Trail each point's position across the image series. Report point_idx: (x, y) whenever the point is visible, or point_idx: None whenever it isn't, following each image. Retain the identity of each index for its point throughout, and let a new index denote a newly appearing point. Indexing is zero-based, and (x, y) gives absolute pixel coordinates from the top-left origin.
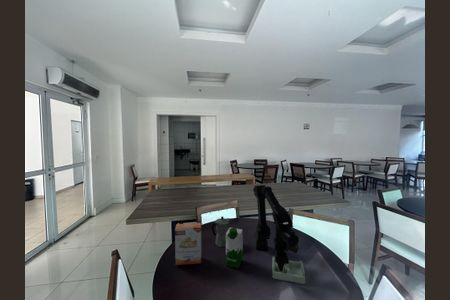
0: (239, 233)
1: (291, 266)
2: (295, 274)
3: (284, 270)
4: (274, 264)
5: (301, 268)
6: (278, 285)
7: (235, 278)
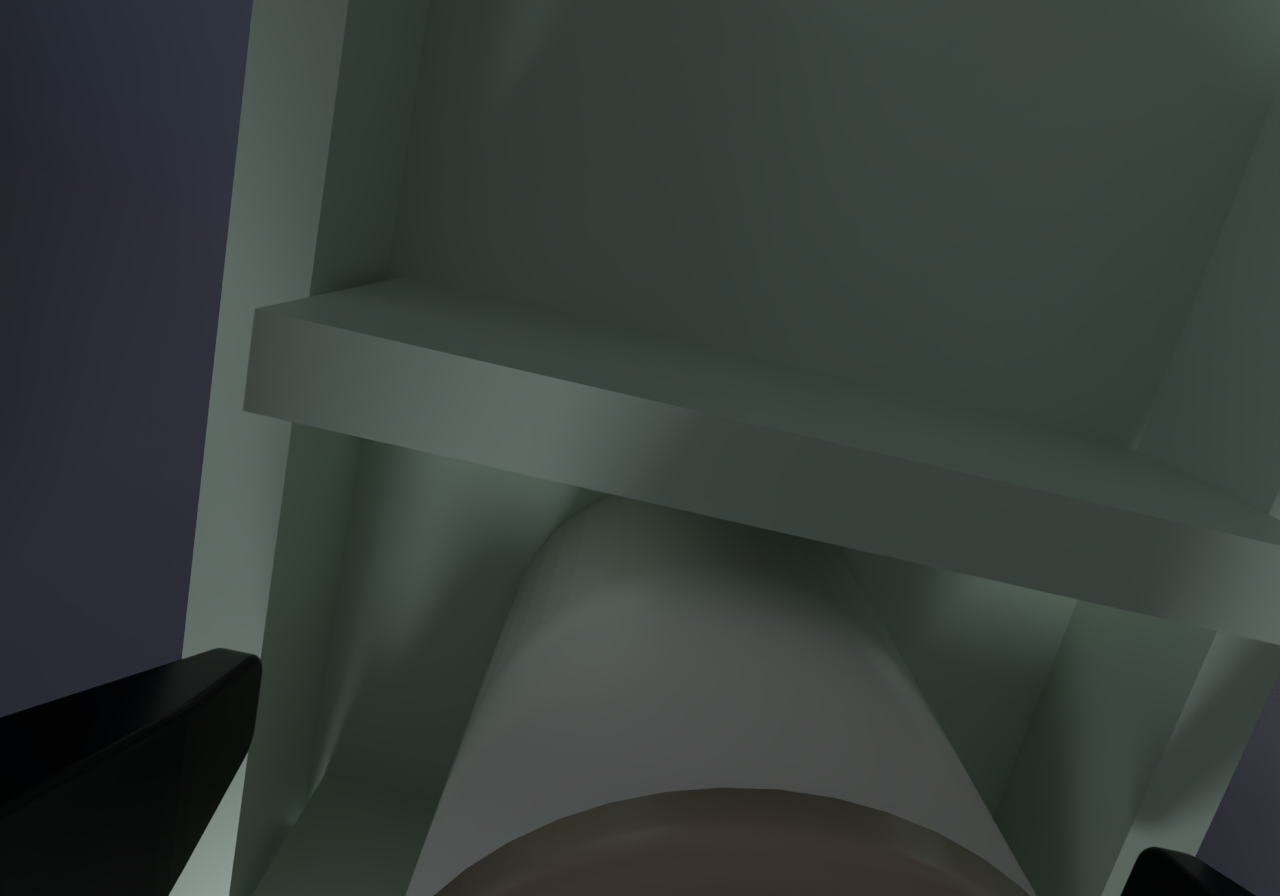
0: None
1: (442, 107)
2: (949, 104)
3: (847, 575)
4: (373, 772)
5: None
6: (1270, 830)
7: None
